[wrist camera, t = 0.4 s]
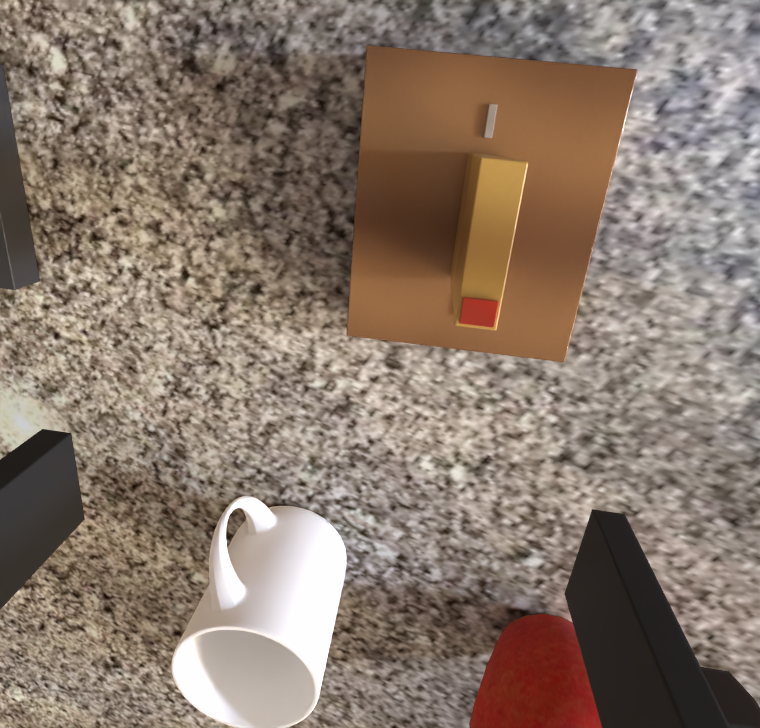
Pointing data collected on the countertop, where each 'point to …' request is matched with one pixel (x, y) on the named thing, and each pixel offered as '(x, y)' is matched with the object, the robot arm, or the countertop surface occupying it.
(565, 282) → the plate
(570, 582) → the robot arm
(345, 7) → the countertop surface
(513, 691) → the apple
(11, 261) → the push button housing
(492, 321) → the thumbturn
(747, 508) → the countertop surface
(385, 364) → the countertop surface
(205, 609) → the mug
